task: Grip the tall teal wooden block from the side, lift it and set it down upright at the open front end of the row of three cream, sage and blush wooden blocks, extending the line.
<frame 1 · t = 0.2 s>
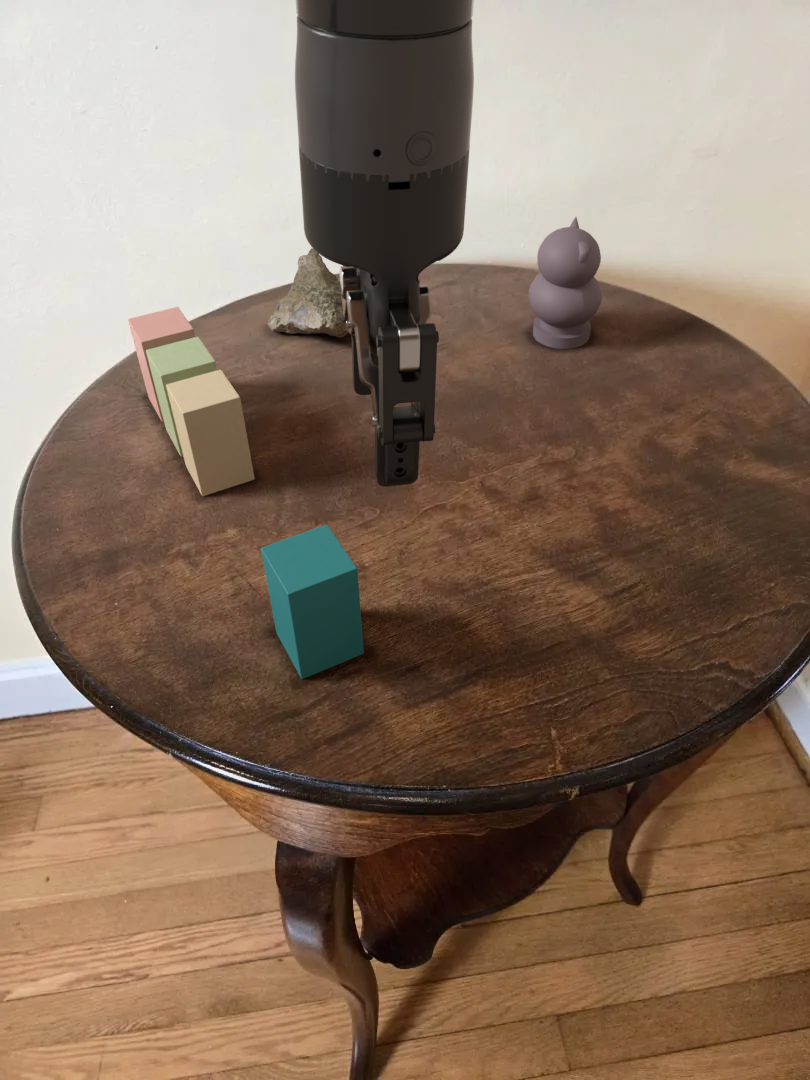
hand: (383, 433, 48), 20 cm above the table, tool pointing down, fingers open, 8 cm apart
line block 3: (179, 403, 86), on the table
cat figurine: (559, 335, 95), on the table
teal block: (319, 643, 63), on the table
rock: (320, 336, 96), on the table
line block 2: (198, 436, 82), on the table
line block 1: (220, 473, 78), on the table
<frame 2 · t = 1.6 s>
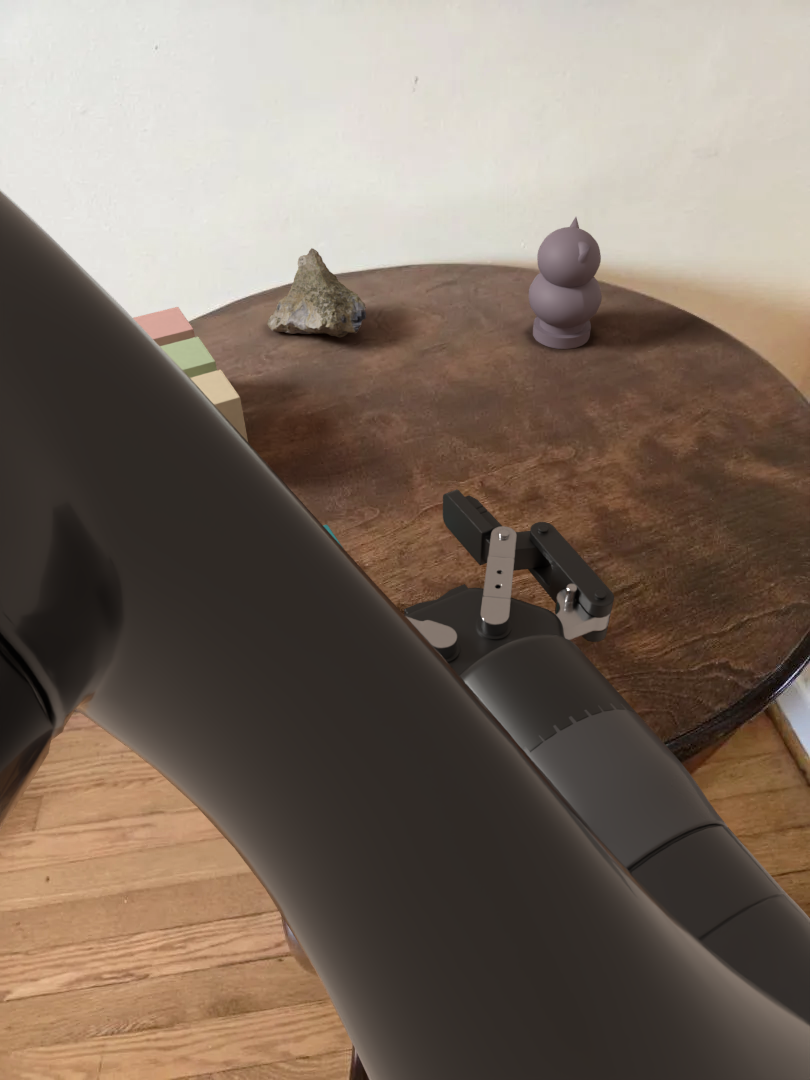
hand: (374, 531, 42), 20 cm above the table, tool horizontal, fingers open, 8 cm apart
nothing on the table moved.
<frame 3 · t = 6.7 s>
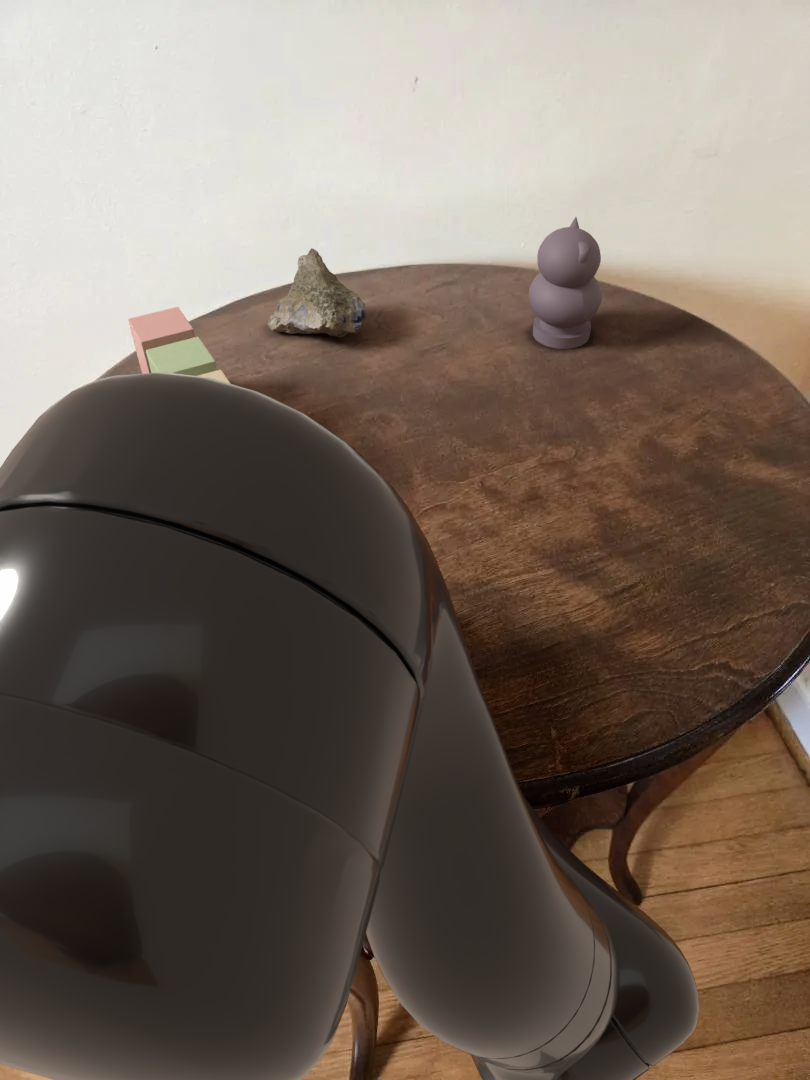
hand: (296, 555, 60), 7 cm above the table, tool horizontal, fingers closed on teal block, 5 cm apart
teal block: (319, 643, 63), on the table, touching gripper
everything else where it was.
when the fingers open (7 cm above the table, at t = 15.4 s): teal block stays where it is, on the table.
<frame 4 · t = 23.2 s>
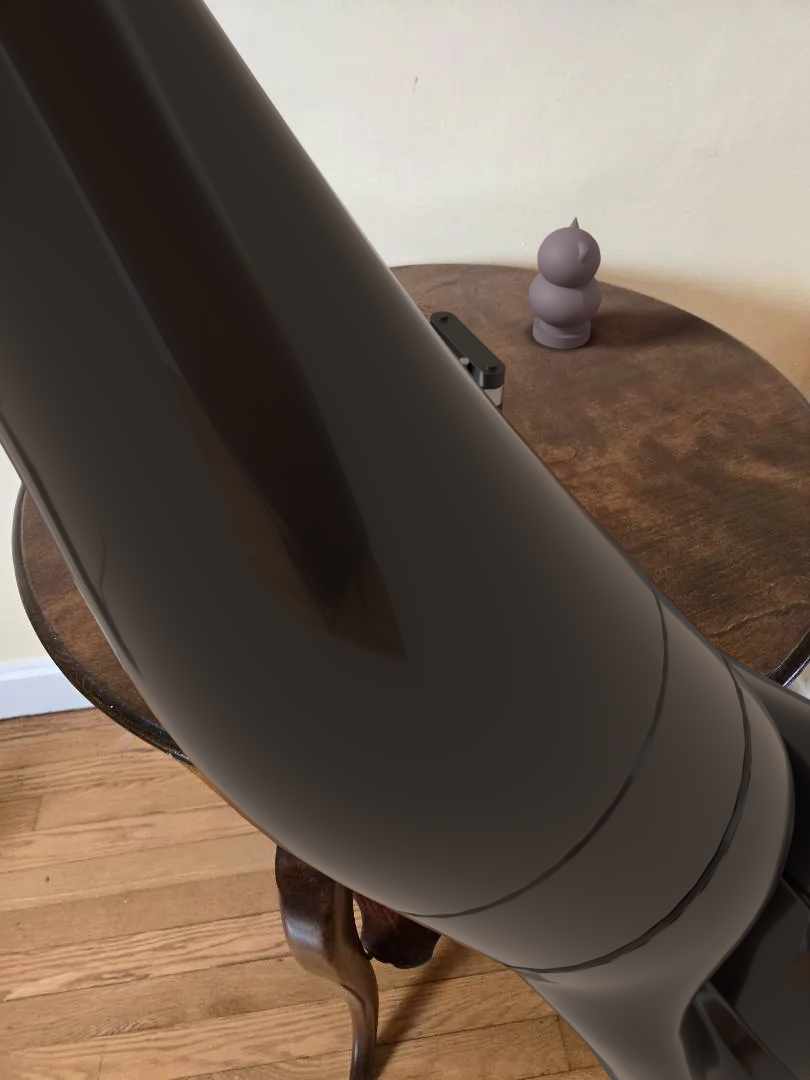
hand: (276, 327, 41), 28 cm above the table, tool horizontal, fingers open, 8 cm apart
teal block: (245, 513, 74), on the table
everything else where it was.
at the end: teal block 0.1 cm from the target spot on the table beside the line block 3, on the table; teal block tilted 0°; line block 1 moved 0.0 cm from its start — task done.
